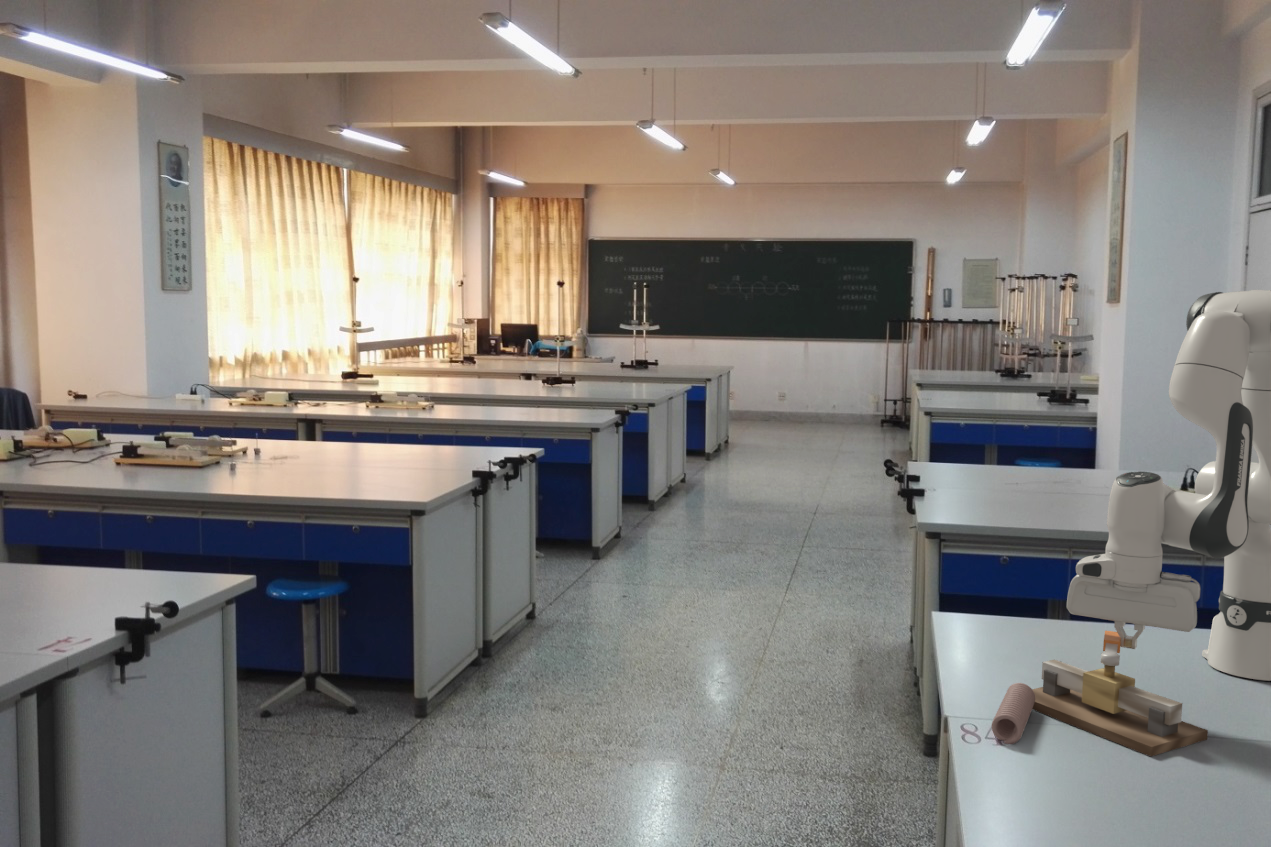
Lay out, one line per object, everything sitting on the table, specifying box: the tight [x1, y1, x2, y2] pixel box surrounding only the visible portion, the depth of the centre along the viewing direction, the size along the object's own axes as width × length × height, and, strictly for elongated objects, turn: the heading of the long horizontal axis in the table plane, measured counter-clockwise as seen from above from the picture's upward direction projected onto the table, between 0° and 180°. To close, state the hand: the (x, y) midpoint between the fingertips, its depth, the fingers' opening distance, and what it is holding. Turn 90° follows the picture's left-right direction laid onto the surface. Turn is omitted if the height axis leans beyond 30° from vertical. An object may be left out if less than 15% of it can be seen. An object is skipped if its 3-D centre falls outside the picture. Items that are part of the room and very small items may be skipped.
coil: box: [991, 682, 1035, 745], centre depth 179 cm, size 5×5×18 cm
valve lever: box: [1100, 630, 1121, 667], centre depth 186 cm, size 15×3×2 cm, turn 155°
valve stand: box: [1031, 659, 1209, 757], centre depth 181 cm, size 14×26×9 cm, turn 30°
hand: (1128, 647), depth 189 cm, fingers closed
